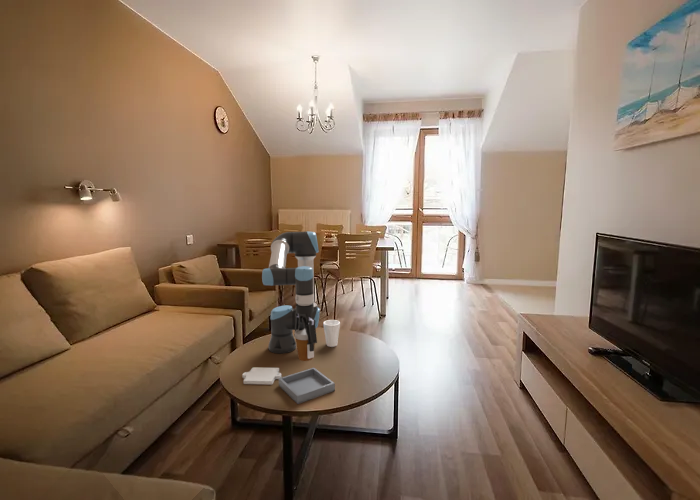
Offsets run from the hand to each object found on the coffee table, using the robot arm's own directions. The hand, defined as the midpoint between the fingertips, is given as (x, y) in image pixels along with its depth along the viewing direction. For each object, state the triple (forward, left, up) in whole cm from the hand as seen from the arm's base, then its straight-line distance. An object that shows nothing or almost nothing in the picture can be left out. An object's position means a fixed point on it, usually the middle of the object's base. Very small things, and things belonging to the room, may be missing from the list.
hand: (305, 354), depth 157 cm
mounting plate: (-21, -12, -16) cm, 29 cm away
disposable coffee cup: (0, 0, -2) cm, 2 cm away
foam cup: (-34, +35, -16) cm, 51 cm away
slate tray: (0, 0, -16) cm, 16 cm away
